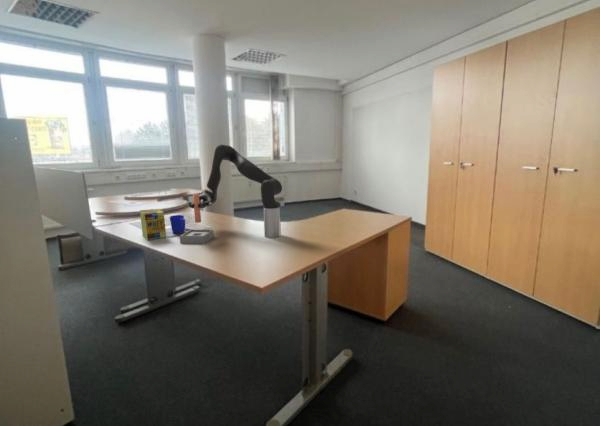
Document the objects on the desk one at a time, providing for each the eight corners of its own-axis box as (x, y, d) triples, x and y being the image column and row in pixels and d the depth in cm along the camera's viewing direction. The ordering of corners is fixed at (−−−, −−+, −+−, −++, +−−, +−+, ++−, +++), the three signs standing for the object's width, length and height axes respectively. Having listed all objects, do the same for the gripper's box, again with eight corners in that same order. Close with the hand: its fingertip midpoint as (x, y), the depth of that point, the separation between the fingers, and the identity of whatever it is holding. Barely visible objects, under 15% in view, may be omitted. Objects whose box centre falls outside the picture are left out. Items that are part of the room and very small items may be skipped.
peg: (202, 221, 177) (199, 193, 174) (199, 222, 174) (197, 194, 171) (196, 221, 178) (194, 193, 174) (194, 222, 175) (191, 194, 171)
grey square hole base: (213, 236, 185) (213, 229, 184) (204, 243, 171) (203, 236, 171) (191, 236, 186) (190, 229, 186) (180, 242, 173) (179, 235, 172)
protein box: (147, 240, 178) (144, 214, 175) (142, 235, 190) (139, 210, 187) (166, 237, 184) (164, 211, 181) (160, 232, 196) (158, 208, 193)
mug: (179, 235, 188) (177, 219, 186) (168, 232, 196) (167, 216, 194) (191, 232, 195) (189, 216, 193) (180, 229, 202) (178, 214, 200)
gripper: (190, 195, 187) (181, 199, 170) (214, 194, 188) (208, 199, 171) (191, 207, 188) (183, 213, 171) (215, 206, 189) (209, 212, 172)
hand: (195, 206), depth 171 cm, fingers closed on peg, 3 cm apart
